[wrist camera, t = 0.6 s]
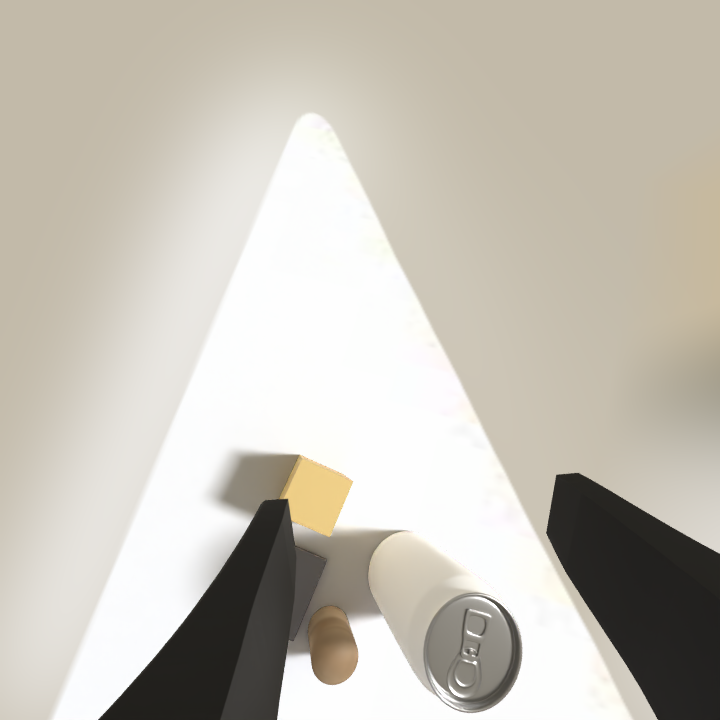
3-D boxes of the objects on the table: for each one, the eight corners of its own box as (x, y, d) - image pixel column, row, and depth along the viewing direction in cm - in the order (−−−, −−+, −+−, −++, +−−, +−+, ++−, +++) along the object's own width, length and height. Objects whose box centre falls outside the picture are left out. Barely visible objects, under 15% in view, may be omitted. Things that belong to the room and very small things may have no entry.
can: (356, 602, 30) (400, 707, 19) (379, 519, 32) (434, 570, 20) (430, 622, 31) (516, 735, 20) (449, 541, 33) (540, 601, 21)
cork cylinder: (338, 657, 30) (346, 691, 26) (300, 642, 29) (303, 675, 25) (355, 614, 30) (365, 641, 26) (318, 599, 30) (323, 624, 26)
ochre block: (322, 520, 31) (329, 537, 26) (277, 501, 31) (276, 514, 26) (342, 474, 32) (353, 481, 27) (299, 454, 32) (302, 458, 27)
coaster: (293, 638, 29) (293, 641, 29) (220, 609, 29) (219, 611, 28) (326, 559, 31) (326, 560, 30) (257, 530, 30) (257, 531, 30)
